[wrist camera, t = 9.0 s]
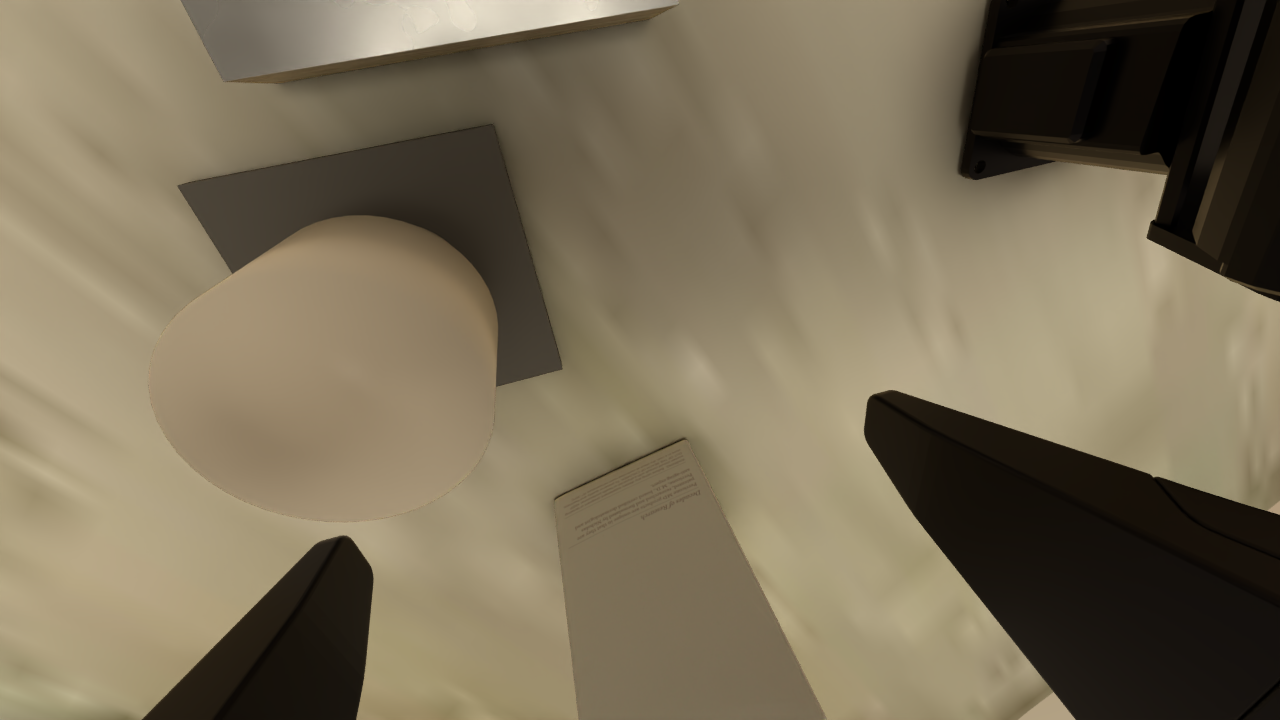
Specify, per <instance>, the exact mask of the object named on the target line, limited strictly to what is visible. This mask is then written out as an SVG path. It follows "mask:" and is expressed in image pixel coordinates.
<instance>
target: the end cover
mask: <svg viewBox="0 0 1280 720" xmlns="http://www.w3.org/2000/svg"><path fill="white" fill-rule="evenodd" d="M497 344H498V320H497V312H496V309H495V305H494V301H493V299H492V296H491V294H490V291H489V289H488V287H487V285H486V284H485V282H484V280H483V279H482V277H481V275H480V274H479V273H478V272H477V270H476V269H475V268H474V266H473V265H472V264H471V263H470V262H469V261H468V260H467V259H466V258H465V257H464V256H463V255H462V254H461V253H460V252H459V251H458V250H456V249H455V248H454V247H453V246H451V245H450V244H449V243H448V242H446V241H445V240H444V239H443V238H441V237H439V236H438V235H436V234H435V233H433V232H430V231H428V230H426V229H424V228H421V227H418V226H415V225H412V224H409V223H406V222H403V221H399V220H395V219H391V218H386V217H378V216H369V215H352V216H342V217H335V218H330V219H326V220H323V221H319V222H316V223H313V224H311V225H309V226H307V227H304V228H302V229H300V230H299V231H297V232H295V233H294V234H292V235H291V236H289V237H288V238H286V239H285V240H283V241H282V242H280V243H279V244H277V245H276V246H274V247H273V248H271V249H269V250H268V251H266V252H265V253H263V254H262V255H260V256H259V257H257V258H256V259H254V260H253V261H251V262H250V263H248V264H247V265H245V266H244V267H242V268H241V269H239V270H238V271H236V272H235V273H233V274H232V275H230V276H229V277H227V278H226V279H224V280H223V281H221V282H220V283H218V284H217V285H215V286H214V287H212V288H211V289H209V290H208V291H206V292H205V293H203V294H202V295H200V296H199V297H197V298H196V299H194V300H193V301H191V302H190V303H189V304H188V305H187V306H186V307H184V308H183V309H182V310H181V311H180V312H179V313H178V314H177V315H176V316H175V317H174V318H173V319H172V320H171V322H170V323H169V324H168V326H167V327H166V328H165V330H164V331H163V332H162V334H161V336H160V338H159V340H158V342H157V344H156V346H155V348H154V351H153V355H152V359H151V363H150V367H149V385H148V386H149V392H150V399H151V405H152V408H153V410H154V413H155V416H156V419H157V422H158V424H159V425H160V427H161V429H162V431H163V433H164V435H165V436H166V438H167V440H168V441H169V442H170V444H171V445H172V446H173V448H174V449H175V450H176V452H177V453H178V454H179V455H180V456H181V457H182V458H183V459H184V460H185V461H186V462H187V463H188V464H189V465H190V466H191V467H192V468H193V469H194V470H195V471H196V472H198V473H199V474H200V475H201V476H203V477H204V478H205V479H207V480H208V481H209V482H211V483H212V484H214V485H215V486H217V487H219V488H220V489H222V490H223V491H225V492H226V493H228V494H230V495H232V496H234V497H236V498H238V499H240V500H242V501H244V502H247V503H249V504H252V505H254V506H257V507H260V508H262V509H265V510H268V511H272V512H275V513H279V514H282V515H286V516H291V517H296V518H301V519H306V520H315V521H324V522H359V521H369V520H376V519H383V518H387V517H392V516H396V515H400V514H403V513H406V512H409V511H412V510H415V509H418V508H420V507H422V506H424V505H427V504H429V503H431V502H433V501H435V500H436V499H438V498H440V497H442V496H443V495H445V494H447V493H448V492H449V491H451V490H452V489H453V488H455V487H456V486H457V485H458V484H460V483H461V482H462V481H463V480H464V479H465V478H466V477H467V476H468V475H469V474H470V473H471V471H472V470H473V469H474V468H475V466H476V465H477V464H478V462H479V461H480V459H481V457H482V456H483V454H484V452H485V450H486V448H487V446H488V443H489V440H490V438H491V435H492V430H493V425H494V416H495V392H496V368H497Z"/></svg>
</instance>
